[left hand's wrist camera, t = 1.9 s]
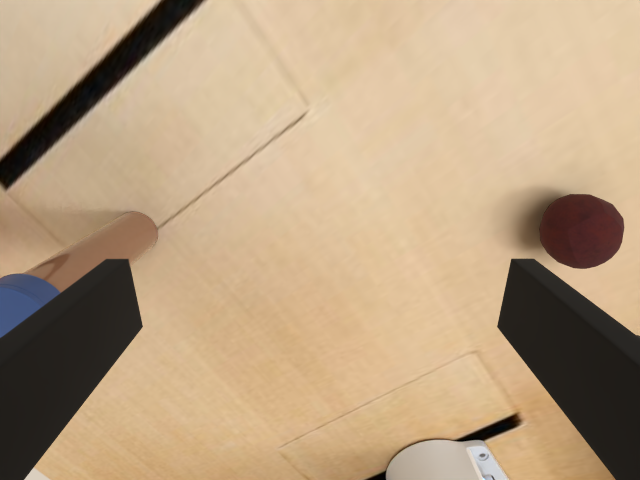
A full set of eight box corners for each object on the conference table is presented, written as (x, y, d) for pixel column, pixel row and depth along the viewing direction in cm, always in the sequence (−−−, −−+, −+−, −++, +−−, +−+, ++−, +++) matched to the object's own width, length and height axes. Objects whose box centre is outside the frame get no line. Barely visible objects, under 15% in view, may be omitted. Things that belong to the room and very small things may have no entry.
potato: (540, 262, 43) (580, 291, 36) (514, 209, 41) (552, 230, 34) (602, 229, 41) (655, 254, 35) (579, 172, 39) (631, 188, 32)
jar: (135, 203, 40) (5, 276, 24) (166, 234, 42) (64, 325, 25) (107, 227, 42) (-37, 315, 25) (138, 258, 43) (22, 360, 26)
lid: (22, 258, 25) (-2, 271, 23) (88, 314, 27) (70, 330, 25) (-26, 302, 26) (-53, 317, 24) (39, 353, 28) (19, 371, 26)
